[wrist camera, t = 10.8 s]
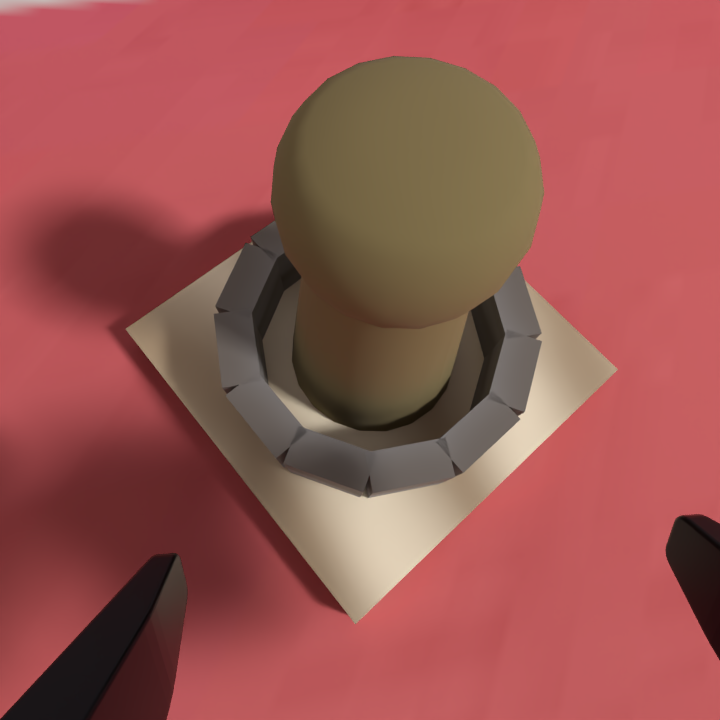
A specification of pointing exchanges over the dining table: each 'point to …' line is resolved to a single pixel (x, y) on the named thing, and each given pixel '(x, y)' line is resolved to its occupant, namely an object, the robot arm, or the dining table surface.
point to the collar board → (363, 448)
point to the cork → (398, 229)
